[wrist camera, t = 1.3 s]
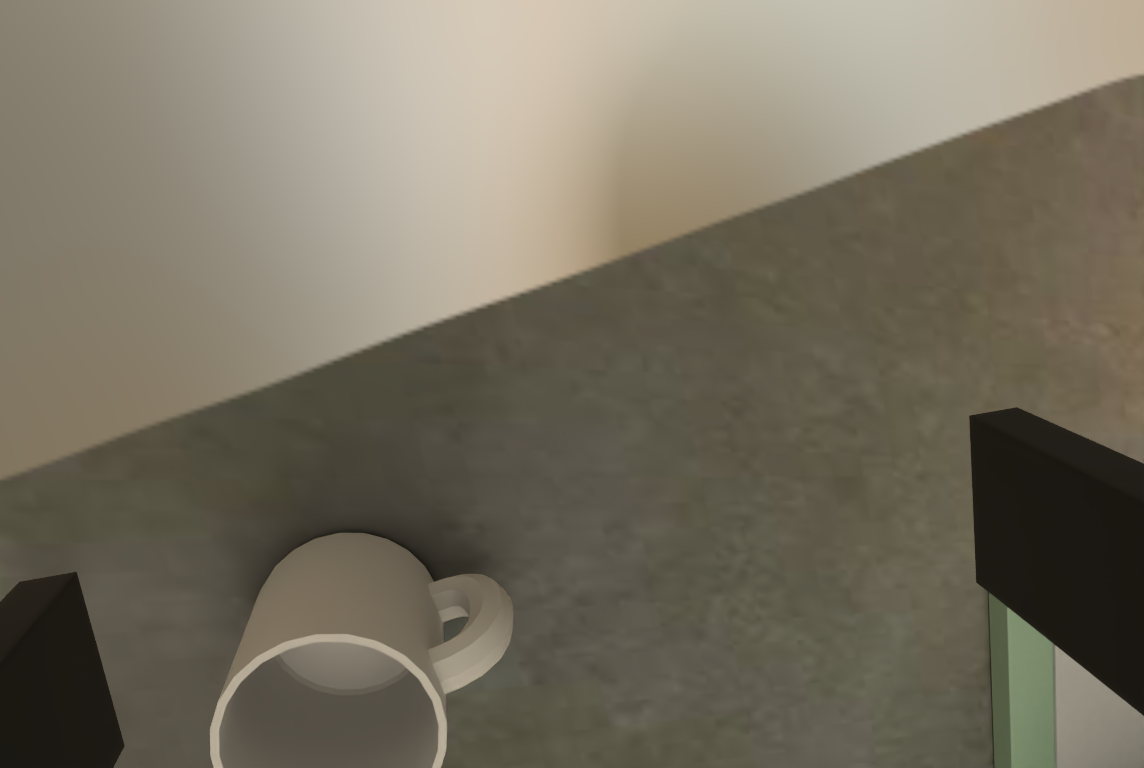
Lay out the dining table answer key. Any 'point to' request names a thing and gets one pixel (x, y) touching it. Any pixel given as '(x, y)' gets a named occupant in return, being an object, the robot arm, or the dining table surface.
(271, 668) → the cup
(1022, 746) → the coffee maker
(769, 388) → the dining table surface
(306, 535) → the dining table surface
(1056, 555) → the robot arm
